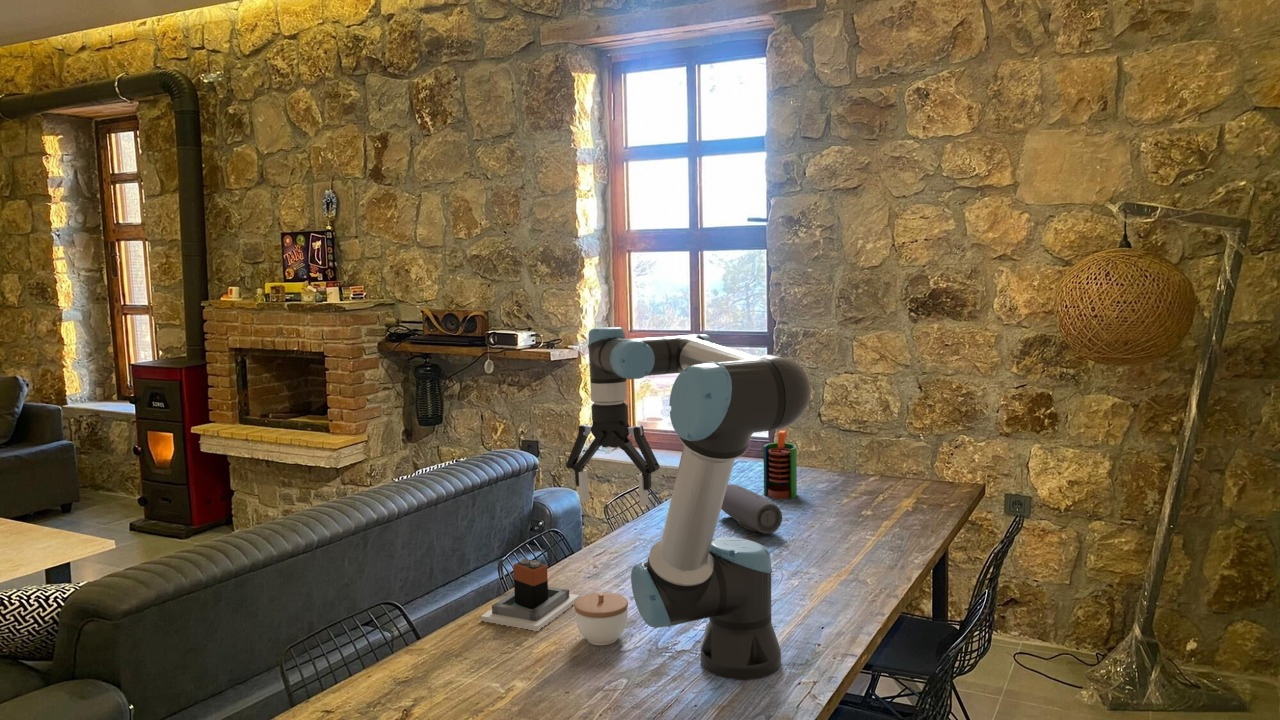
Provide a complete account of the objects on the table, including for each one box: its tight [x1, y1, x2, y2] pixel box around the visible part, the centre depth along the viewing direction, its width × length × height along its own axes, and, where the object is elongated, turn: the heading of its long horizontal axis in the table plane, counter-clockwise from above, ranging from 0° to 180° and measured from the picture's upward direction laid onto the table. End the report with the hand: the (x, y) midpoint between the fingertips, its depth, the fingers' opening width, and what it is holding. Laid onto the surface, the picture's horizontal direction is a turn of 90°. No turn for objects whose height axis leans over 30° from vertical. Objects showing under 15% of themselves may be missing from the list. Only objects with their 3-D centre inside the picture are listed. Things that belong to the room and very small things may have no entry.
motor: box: [762, 430, 798, 500], centre depth 285 cm, size 10×9×20 cm
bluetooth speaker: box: [721, 483, 783, 534], centre depth 255 cm, size 23×9×10 cm, turn 22°
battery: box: [513, 557, 549, 609], centre depth 199 cm, size 4×7×10 cm, turn 47°
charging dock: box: [480, 586, 580, 632], centre depth 199 cm, size 18×14×3 cm
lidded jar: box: [573, 592, 629, 647], centre depth 184 cm, size 11×11×9 cm
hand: (613, 503), depth 190 cm, fingers open, 13 cm apart
